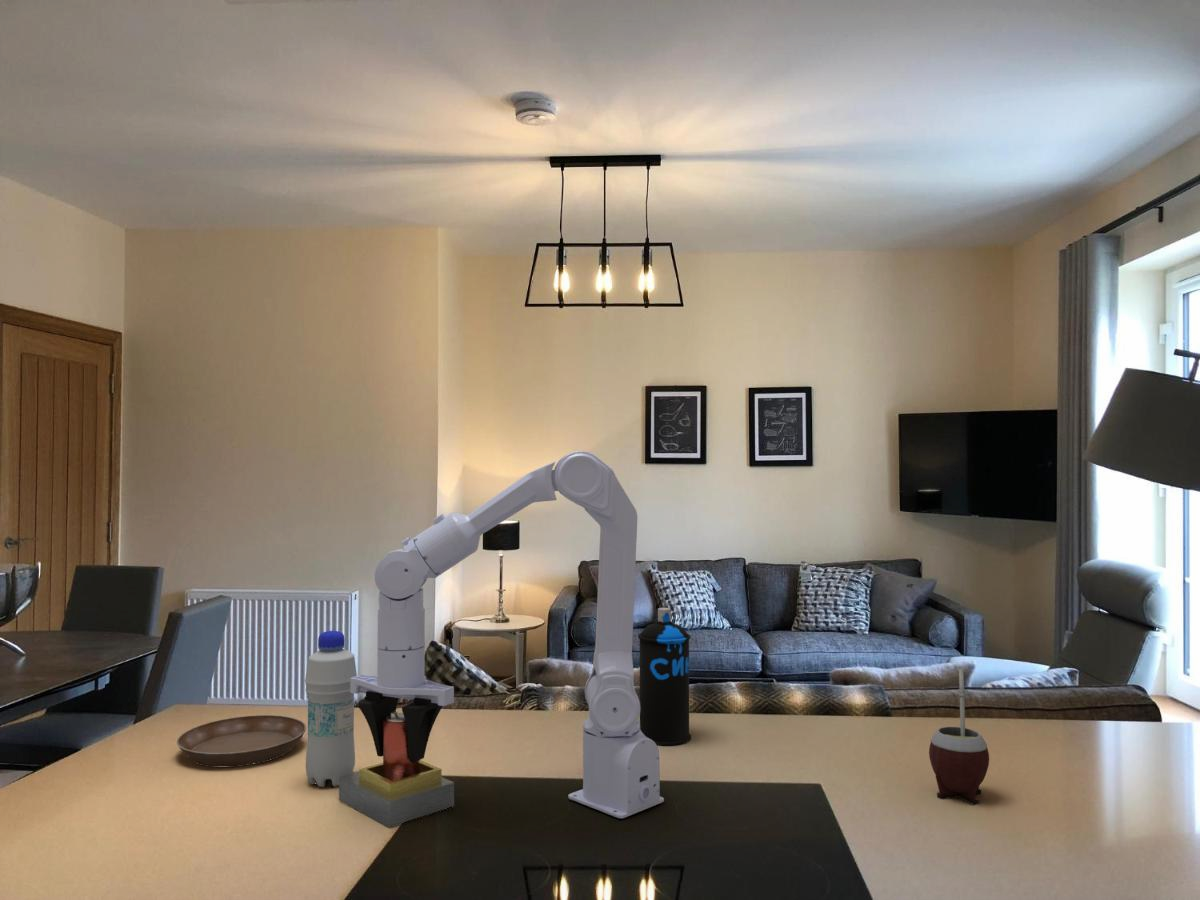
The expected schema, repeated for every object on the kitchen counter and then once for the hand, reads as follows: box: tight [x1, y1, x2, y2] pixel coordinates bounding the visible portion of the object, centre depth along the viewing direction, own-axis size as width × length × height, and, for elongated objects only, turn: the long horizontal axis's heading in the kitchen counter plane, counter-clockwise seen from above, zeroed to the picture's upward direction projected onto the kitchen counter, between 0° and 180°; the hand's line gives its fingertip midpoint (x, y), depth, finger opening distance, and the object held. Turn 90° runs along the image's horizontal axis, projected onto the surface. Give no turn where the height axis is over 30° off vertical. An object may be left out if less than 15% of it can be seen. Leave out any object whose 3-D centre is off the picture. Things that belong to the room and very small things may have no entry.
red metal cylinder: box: [382, 711, 420, 781], centre depth 107 cm, size 4×4×8 cm
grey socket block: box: [338, 759, 455, 829], centre depth 108 cm, size 14×9×4 cm, turn 45°
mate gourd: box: [928, 668, 990, 806], centre depth 111 cm, size 8×8×15 cm
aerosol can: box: [637, 607, 692, 747], centre depth 135 cm, size 8×8×20 cm
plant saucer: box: [176, 714, 307, 767], centre depth 128 cm, size 18×18×3 cm
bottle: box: [304, 630, 358, 788], centre depth 116 cm, size 7×7×20 cm
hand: (400, 756), depth 107 cm, fingers closed on red metal cylinder, 4 cm apart
